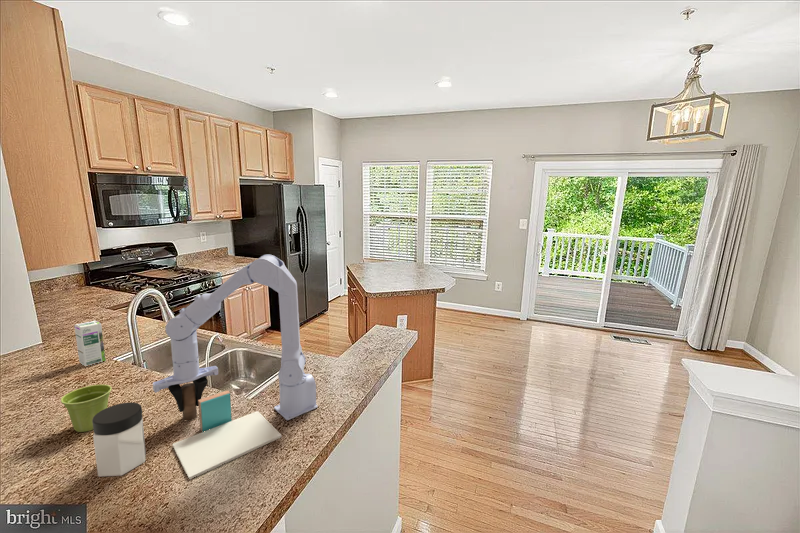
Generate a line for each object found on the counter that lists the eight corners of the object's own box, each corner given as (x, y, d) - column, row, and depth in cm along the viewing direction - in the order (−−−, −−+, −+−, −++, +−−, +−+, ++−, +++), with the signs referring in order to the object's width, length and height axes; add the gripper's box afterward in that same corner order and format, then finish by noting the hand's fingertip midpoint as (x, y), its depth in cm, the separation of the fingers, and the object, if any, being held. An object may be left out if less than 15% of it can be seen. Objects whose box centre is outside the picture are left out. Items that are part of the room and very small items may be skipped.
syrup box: (85, 367, 117) (80, 327, 115) (78, 363, 120) (73, 323, 118) (106, 361, 122) (101, 322, 120) (99, 357, 125) (95, 319, 123)
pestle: (195, 412, 93) (192, 381, 92) (198, 417, 91) (196, 386, 90) (181, 417, 91) (179, 385, 90) (184, 422, 89) (182, 390, 87)
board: (257, 412, 94) (257, 410, 94) (281, 437, 84) (281, 434, 84) (172, 446, 80) (172, 443, 80) (189, 480, 70) (188, 477, 70)
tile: (229, 418, 91) (227, 390, 90) (232, 421, 90) (230, 393, 89) (200, 429, 86) (198, 400, 85) (202, 432, 85) (200, 403, 84)
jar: (156, 449, 79) (152, 401, 77) (132, 476, 71) (127, 423, 69) (114, 450, 78) (109, 402, 76) (85, 478, 70) (78, 424, 68)
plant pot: (77, 418, 89) (73, 387, 88) (120, 411, 93) (117, 381, 91) (56, 440, 81) (51, 406, 79) (105, 432, 84) (101, 399, 83)
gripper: (211, 347, 96) (214, 391, 98) (148, 362, 86) (153, 411, 88) (219, 355, 91) (222, 401, 94) (154, 371, 81) (158, 423, 83)
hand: (189, 407), depth 91 cm, fingers closed on pestle, 3 cm apart
